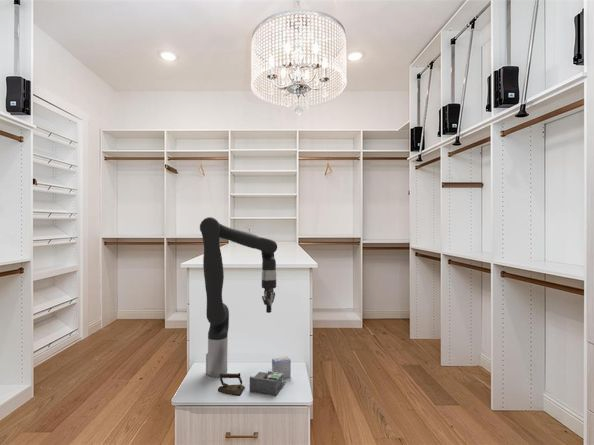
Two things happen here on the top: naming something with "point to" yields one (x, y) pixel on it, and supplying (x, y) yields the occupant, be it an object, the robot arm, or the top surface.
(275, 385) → the box
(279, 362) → the medicine box
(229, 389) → the clothes iron
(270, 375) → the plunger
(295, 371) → the top surface
